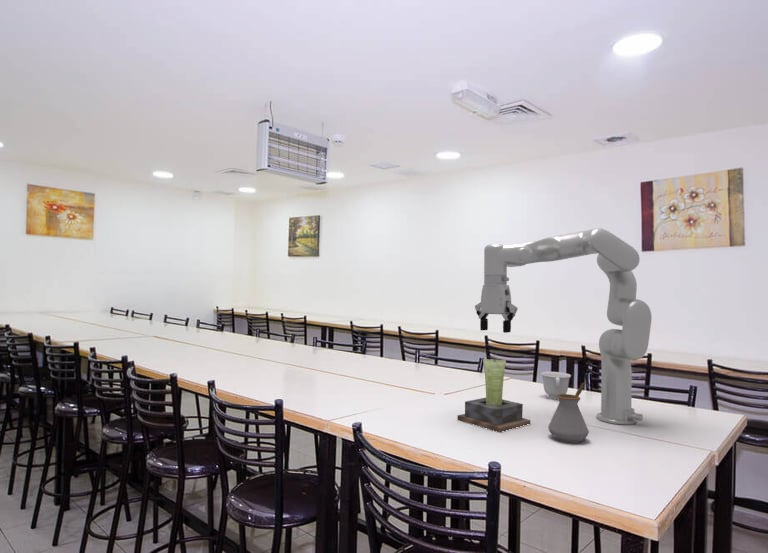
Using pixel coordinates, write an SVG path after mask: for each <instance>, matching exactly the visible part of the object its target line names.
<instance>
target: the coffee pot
mask: <svg viewBox="0 0 768 553" xmlns="http://www.w3.org/2000/svg"><path fill="white" fill-rule="evenodd" d="M585 385H586V386H587V387H589V385H588V383H585V382H581V384H580V385H579V388H578V389H577V390H576V393H575V394H569V393H566V394H559V395H557V397H558V398H559V402H558V405H557V407H556V409H555V411H554V413H553V416H552V418H551V420H550V422H549V423H548V427H547V428H548V431H549V433H550V434H551V435H552V436H553V437H554V439H555V438H556V439H555V440H557V439H558V440H557V441H559V440H560V442H563V441H565V442H564V443H569V442H571V443H572V444H576V443H577V442H578V443H581V442H582V441H583V440H585V439H586V438H587V437H588V435H589V433H590V431H589V429H588V426H587V423H586V422H585V421H586V420H584V417H583V415H582V411H581V409H580V407H579V405H578V403H579V402H580V400H581V397H580V395H581V393H582V391H583V389H585Z"/></svg>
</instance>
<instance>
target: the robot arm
mask: <svg viewBox="0 0 768 553" xmlns="http://www.w3.org/2000/svg"><path fill="white" fill-rule="evenodd" d="M483 250H484V251H483V252H484V256H483V257H484V258H483V259H484V260H483V262H484V263H483V267H484V268H483V277H484V278H483V285H482V289H481V296H480V302H479V303H477V304H475V305H474V309H475V311H476V315H477V316H478V319H480V321H479V322H480V323H479V324H480V328H479V329H480V331H488V330H489V328H488V327H489V319H488V318H487V317H488V316H489V315H501V316H502V317H503V319H504V320H502V333H504V334H505V333H511V331H512V321H513V318H514V317H515V316H516V314H517V311H518V307H517V306H516V305H515V304H514V303H513V304H512V295H511V289H510V288H511V287H510V285H509V284H508V282H509V281H510V278H509V277H508V276H507V275H508V268H515V267H516V268H517V267H522V266H526V265H530V264H534V263H544V262H545V263H547V262H548V263H549V262H556V261H562V260H568V259H571V258H573V259H574V258H579V257H583V256H588V255H596V254H597V255H596V264H597V265H598V267H599V269H600V270H601V271H603V273H604V274H605V275H606V277H607V278H608V282H609V293H608V300H607V302H608V303H607V310H606V318H607V319H608V321H609V323H611V324H613V325H616V326H622V328H621V329H620V328H611V329H606V330H605V331H604V332H603V333H602V334H601V335H600V337H599V339H598V349H599V352H600V361H601V378H600V380H601V382H600V386H601V388H600V390H601V394H600V395H601V396H600V397H601V398H600V400H601V403H600V406H601V408H600V412H597V413H596V414H595V415H596V416H595V417H596V419H597V420H599V421H601V422H604V423H607V424H615V425H625V426H626V425H627V426H628V425H634V424H636V423H637V421H639V422H643V421H644V420H643V419H644V416H643V414H642V413H636V412H635V408H633V407H632V387H633V386H632V383H633V382H632V377H633V375H632V374H633V371H632V365H631V361H637V360H641V359H643V357H644V356H645V355H646V353H647V351H648V347H649V343H650V342H649V341H650V335H651V327H652V317H653V316H652V311H651V308H650V306H649V305H648V304H647V303H646V302H645V301H643V300H641V299H637V291H638V290H637V288H638V285H637V280H636V276H635V275H634V273H633V271H634V270H635V269H636V268H637V267H638V265H639V264H640V255H639V252H638V251H637V250H636V249H635V248H634V247H633V246H632V245H631V244H629V243H627V242H626V241H624V240H622V239H621V238H620V237H618V236H616V235H615V234H613V233H612V232H610V231H608V230H607V229H604V228H601V227H600V228H599V227H598V228H597V227H596V228H593V229H592V228H591V229H587V230H581V231H576V232H570V233H566V234H560V235H554V236H549V237H546V238H545V237H544V238H542V239H538V240H535V241H531V242H525V243H516V244H507V245H505V244H497V243H496V244H493V243H492V244H488V245H485V247H484V249H483Z"/></svg>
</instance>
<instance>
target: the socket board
mask: <svg viewBox="0 0 768 553" xmlns="http://www.w3.org/2000/svg"><path fill="white" fill-rule="evenodd" d="M523 405H524V404H523V403H519V402H515V401H511V400H506V399H503V398H502V405H500V406H496V407H495V406H491V405H487V404H486V397H481V398H477V399H471V400H467V401H465V402H464V413H463V414H458V415H456V416H457V417H456V419H457V421H459V422H463V423H466V422H467V423H466V424H470V425H473V424H474V426H476V425H477V426H476V427H479V426H480V427H481V428H483V427H484V428H483V429H486V428H487V430H489V429H490V431H493V430H494V432H496V431H497V432H496V433H499V432H500V433H503V432H502V431H504V432H507V431H506V430H508V431H510V430H509V429H512V428H516V427H519V428H521V427H520V426H523V425H527V424H530V425H531V419H528V418H525V417H524V418H523V411H524V410H523V408H524V407H523ZM527 426H528V425H527ZM523 427H524V426H523ZM516 429H517V428H516ZM512 430H513V429H512Z"/></svg>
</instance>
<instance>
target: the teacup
mask: <svg viewBox="0 0 768 553" xmlns="http://www.w3.org/2000/svg"><path fill="white" fill-rule="evenodd" d="M540 375H541V378H542V382H543V389H544V392H545V393H546V394H547V395H548V398H549V399H550V398H551V399H550V400H555V399H559V398H558V397H557V395H559V394H568V389H569V383H570V378H571V377H572V375H571V374H570V373H566V372H559V371H543V372H540Z"/></svg>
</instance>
